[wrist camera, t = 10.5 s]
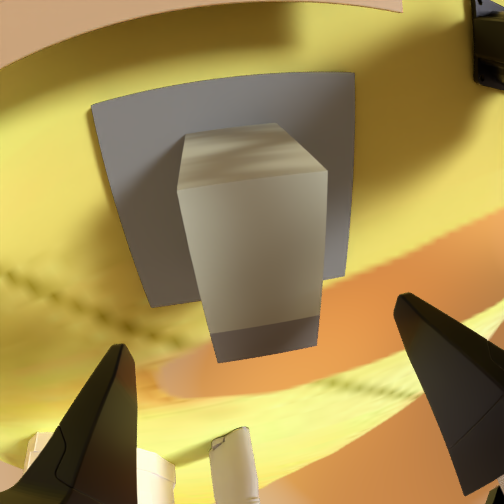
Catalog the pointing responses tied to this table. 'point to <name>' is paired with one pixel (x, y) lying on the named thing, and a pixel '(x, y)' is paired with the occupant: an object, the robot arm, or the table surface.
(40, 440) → the container
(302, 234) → the box
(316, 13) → the table surface
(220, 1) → the light brown square frame
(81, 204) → the table surface
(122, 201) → the slate mat
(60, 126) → the table surface
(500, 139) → the table surface
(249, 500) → the tall pale column
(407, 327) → the robot arm
